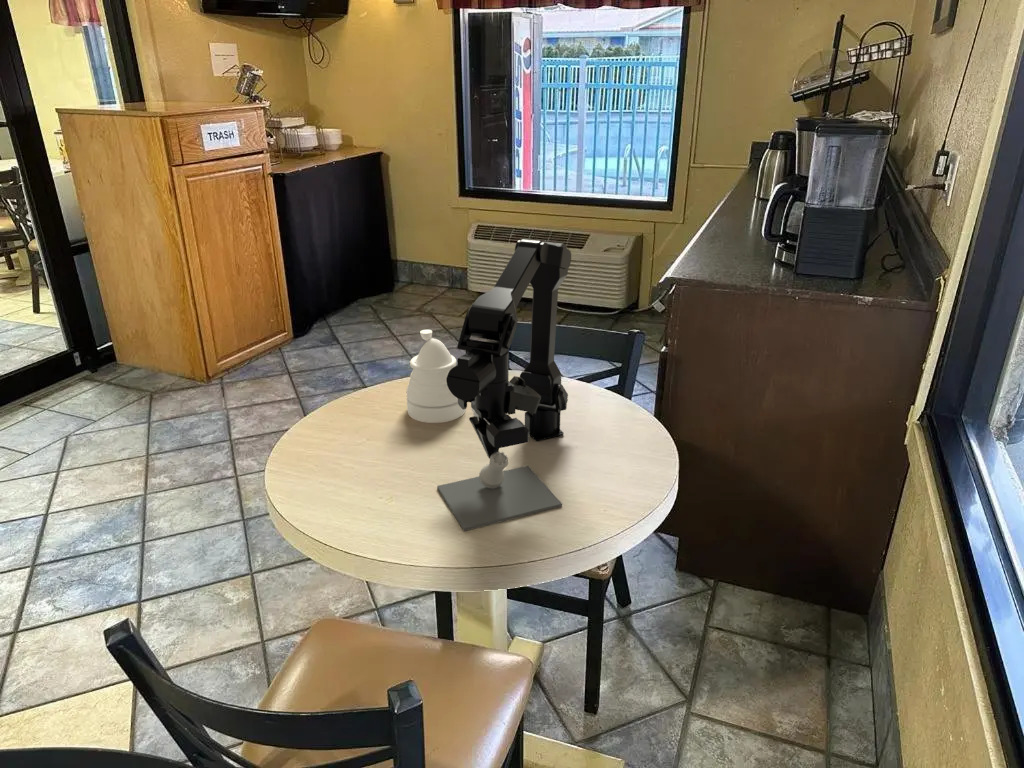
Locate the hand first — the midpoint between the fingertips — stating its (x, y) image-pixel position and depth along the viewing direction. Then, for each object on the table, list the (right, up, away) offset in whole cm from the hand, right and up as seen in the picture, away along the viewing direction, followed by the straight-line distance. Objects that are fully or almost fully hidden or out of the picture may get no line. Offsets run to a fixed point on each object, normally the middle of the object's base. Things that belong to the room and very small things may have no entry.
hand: (492, 458), depth 126 cm
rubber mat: (+1, -7, +1) cm, 7 cm away
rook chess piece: (0, -4, +3) cm, 5 cm away
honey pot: (-13, +7, +33) cm, 36 cm away
